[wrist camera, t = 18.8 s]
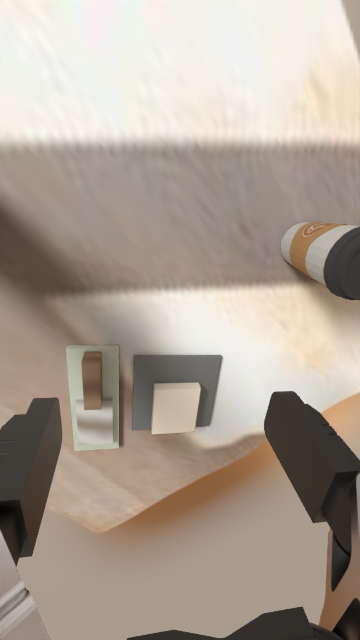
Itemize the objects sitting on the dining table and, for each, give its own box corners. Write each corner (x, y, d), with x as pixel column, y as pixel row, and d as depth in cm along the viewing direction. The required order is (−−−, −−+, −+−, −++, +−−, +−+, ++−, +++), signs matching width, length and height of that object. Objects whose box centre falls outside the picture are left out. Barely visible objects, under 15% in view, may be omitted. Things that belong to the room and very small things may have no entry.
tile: (153, 382, 50) (151, 425, 54) (154, 390, 48) (151, 434, 52) (198, 381, 51) (192, 423, 55) (200, 388, 49) (194, 431, 54)
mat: (132, 427, 54) (132, 430, 54) (134, 355, 48) (134, 357, 47) (208, 423, 57) (209, 426, 56) (220, 355, 50) (221, 357, 50)
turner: (73, 351, 44) (69, 362, 42) (112, 351, 45) (111, 362, 43) (79, 440, 52) (76, 455, 49) (113, 438, 53) (112, 453, 50)
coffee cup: (319, 205, 42) (408, 213, 28) (327, 256, 46) (410, 286, 32) (267, 228, 42) (330, 248, 29) (279, 278, 46) (341, 316, 32)
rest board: (75, 446, 54) (74, 450, 53) (67, 345, 45) (65, 348, 44) (118, 443, 55) (118, 448, 54) (119, 345, 46) (118, 348, 45)
